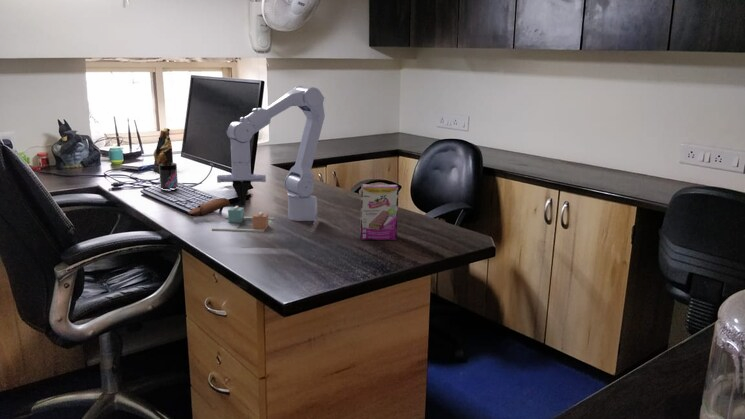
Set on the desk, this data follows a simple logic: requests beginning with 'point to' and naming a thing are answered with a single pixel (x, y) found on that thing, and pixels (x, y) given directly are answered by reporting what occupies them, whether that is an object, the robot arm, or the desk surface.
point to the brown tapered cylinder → (210, 206)
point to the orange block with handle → (260, 220)
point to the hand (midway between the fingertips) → (242, 204)
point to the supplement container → (168, 175)
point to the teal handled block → (236, 214)
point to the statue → (163, 150)
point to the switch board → (242, 227)
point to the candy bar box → (378, 212)
